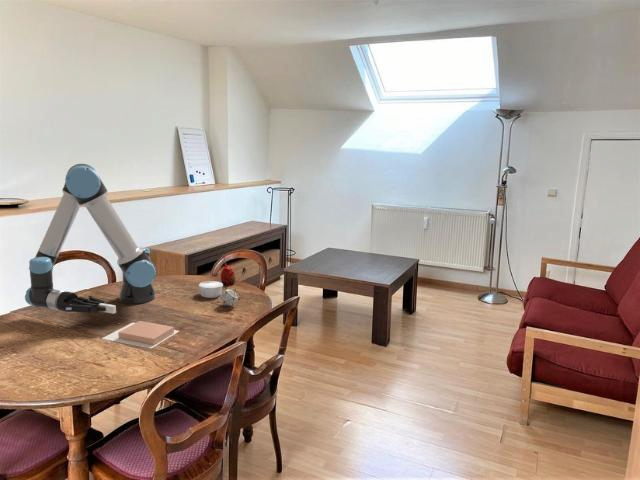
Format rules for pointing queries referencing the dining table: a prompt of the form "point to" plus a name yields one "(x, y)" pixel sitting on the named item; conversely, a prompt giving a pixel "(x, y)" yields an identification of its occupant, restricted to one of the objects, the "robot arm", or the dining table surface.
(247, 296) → the dining table surface
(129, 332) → the terracotta tile
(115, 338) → the rubber mat
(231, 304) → the game die
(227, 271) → the red clay folk toy
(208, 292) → the ramekin
